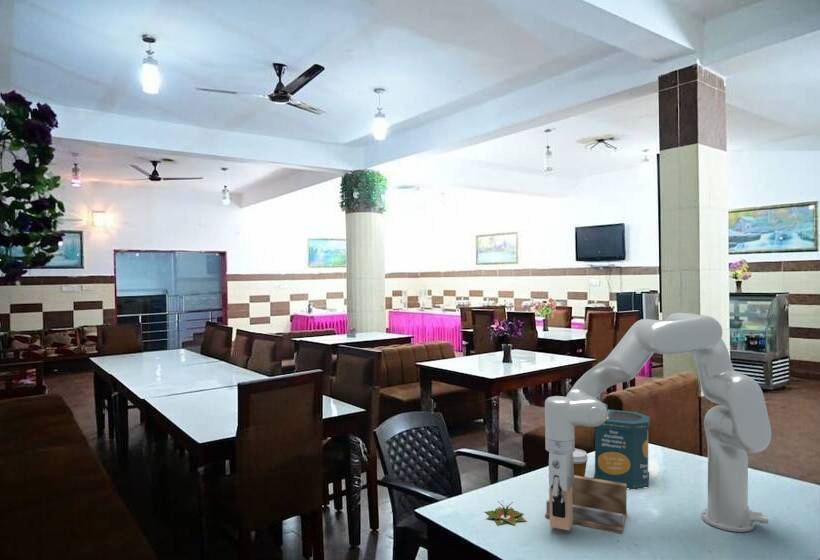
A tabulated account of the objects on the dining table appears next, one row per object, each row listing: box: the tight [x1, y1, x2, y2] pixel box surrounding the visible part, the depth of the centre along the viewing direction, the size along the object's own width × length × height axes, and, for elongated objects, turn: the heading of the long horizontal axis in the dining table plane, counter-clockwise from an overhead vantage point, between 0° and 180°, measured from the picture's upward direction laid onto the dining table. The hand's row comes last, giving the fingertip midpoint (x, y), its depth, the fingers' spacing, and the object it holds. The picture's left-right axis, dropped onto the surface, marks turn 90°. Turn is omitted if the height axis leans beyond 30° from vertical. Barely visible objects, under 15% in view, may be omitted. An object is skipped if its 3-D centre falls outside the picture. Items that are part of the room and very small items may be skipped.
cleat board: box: [544, 475, 628, 535], centre depth 152 cm, size 20×13×9 cm, turn 63°
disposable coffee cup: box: [573, 447, 589, 477], centre depth 170 cm, size 10×10×12 cm
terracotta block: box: [548, 487, 573, 531], centre depth 143 cm, size 5×5×10 cm
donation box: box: [593, 393, 650, 490], centre depth 179 cm, size 16×16×28 cm
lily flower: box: [485, 499, 527, 526], centre depth 151 cm, size 12×12×5 cm
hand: (561, 511), depth 143 cm, fingers closed on terracotta block, 5 cm apart
